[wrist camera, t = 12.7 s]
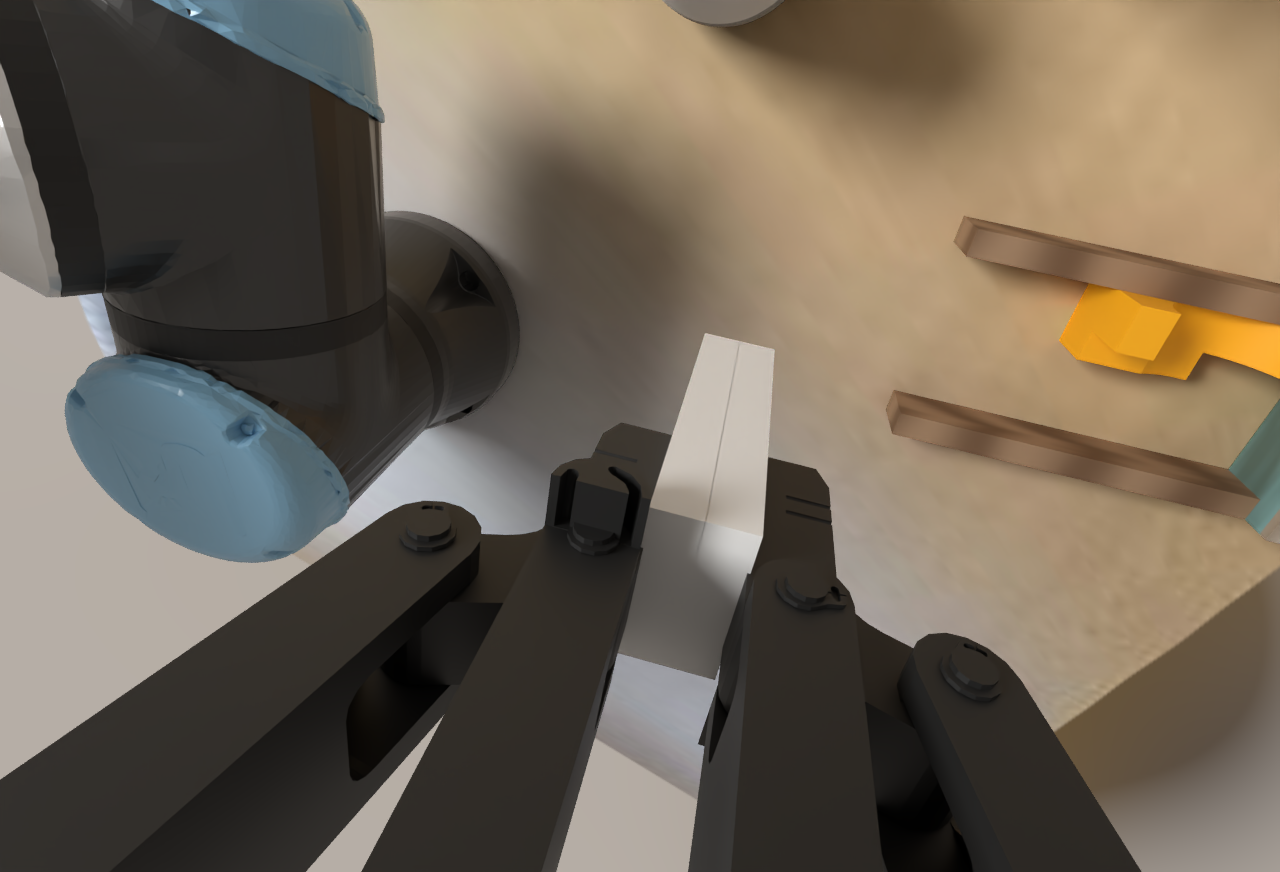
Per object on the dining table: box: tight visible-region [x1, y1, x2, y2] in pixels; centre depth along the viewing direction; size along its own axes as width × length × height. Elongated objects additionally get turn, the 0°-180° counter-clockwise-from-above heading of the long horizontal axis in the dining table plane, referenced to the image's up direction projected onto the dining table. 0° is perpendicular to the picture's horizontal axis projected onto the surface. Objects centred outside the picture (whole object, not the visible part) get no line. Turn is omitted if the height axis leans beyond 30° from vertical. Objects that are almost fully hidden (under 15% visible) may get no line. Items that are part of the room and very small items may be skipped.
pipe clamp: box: [1059, 283, 1280, 380], centre depth 38 cm, size 12×4×6 cm, turn 79°
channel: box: [886, 216, 1280, 544], centre depth 40 cm, size 24×13×6 cm, turn 79°
